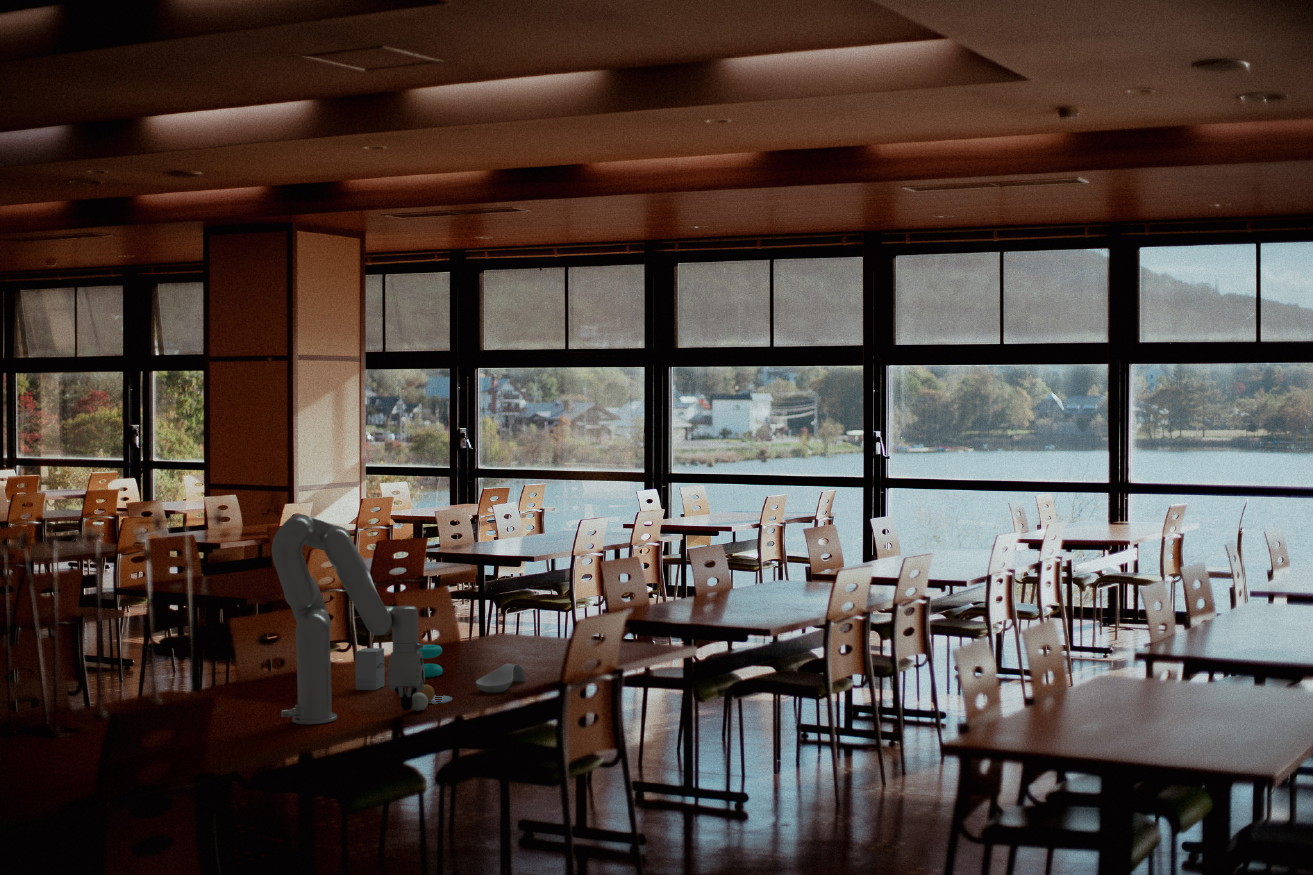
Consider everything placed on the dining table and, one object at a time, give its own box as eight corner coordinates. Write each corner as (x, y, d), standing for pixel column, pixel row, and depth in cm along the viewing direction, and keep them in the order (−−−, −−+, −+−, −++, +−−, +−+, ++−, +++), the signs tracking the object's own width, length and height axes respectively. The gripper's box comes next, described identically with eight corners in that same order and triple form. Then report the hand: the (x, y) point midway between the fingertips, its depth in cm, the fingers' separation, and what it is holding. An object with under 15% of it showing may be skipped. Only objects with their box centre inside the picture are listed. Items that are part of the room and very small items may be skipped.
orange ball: (425, 677, 415) (428, 689, 419) (411, 688, 412) (415, 700, 416) (436, 686, 412) (439, 698, 415) (422, 697, 409) (426, 709, 413)
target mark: (416, 706, 407) (416, 706, 407) (400, 699, 419) (400, 698, 419) (459, 701, 415) (459, 700, 415) (442, 693, 427) (442, 693, 427)
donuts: (421, 643, 466) (447, 644, 463) (422, 672, 466) (447, 673, 463) (407, 648, 457) (433, 649, 453) (407, 677, 457) (434, 678, 453)
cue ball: (426, 688, 404) (423, 704, 406) (409, 688, 401) (405, 704, 403) (432, 698, 400) (428, 714, 401) (414, 698, 397) (410, 714, 399)
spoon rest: (502, 696, 422) (501, 674, 422) (469, 694, 426) (468, 672, 426) (535, 682, 444) (534, 661, 444) (503, 681, 448) (502, 659, 448)
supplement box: (376, 690, 434) (375, 651, 434) (355, 690, 436) (354, 651, 436) (385, 686, 442) (384, 647, 442) (364, 685, 443) (363, 647, 443)
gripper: (433, 645, 399) (435, 707, 399) (385, 645, 401) (387, 706, 401) (425, 650, 391) (427, 712, 391) (376, 649, 394) (378, 712, 394)
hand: (406, 709), depth 396 cm, fingers closed
